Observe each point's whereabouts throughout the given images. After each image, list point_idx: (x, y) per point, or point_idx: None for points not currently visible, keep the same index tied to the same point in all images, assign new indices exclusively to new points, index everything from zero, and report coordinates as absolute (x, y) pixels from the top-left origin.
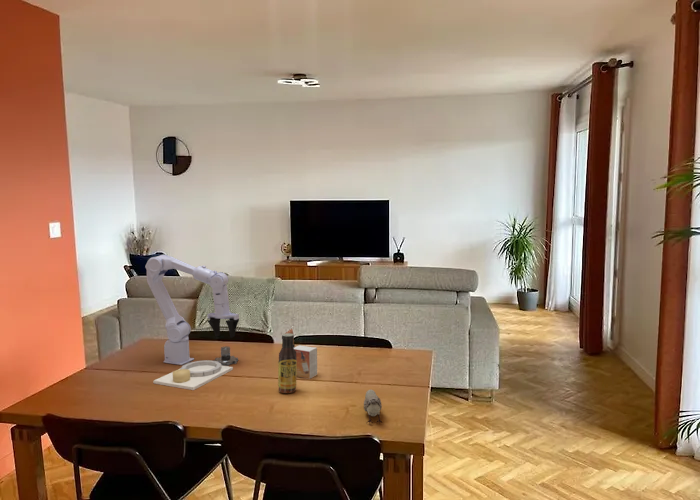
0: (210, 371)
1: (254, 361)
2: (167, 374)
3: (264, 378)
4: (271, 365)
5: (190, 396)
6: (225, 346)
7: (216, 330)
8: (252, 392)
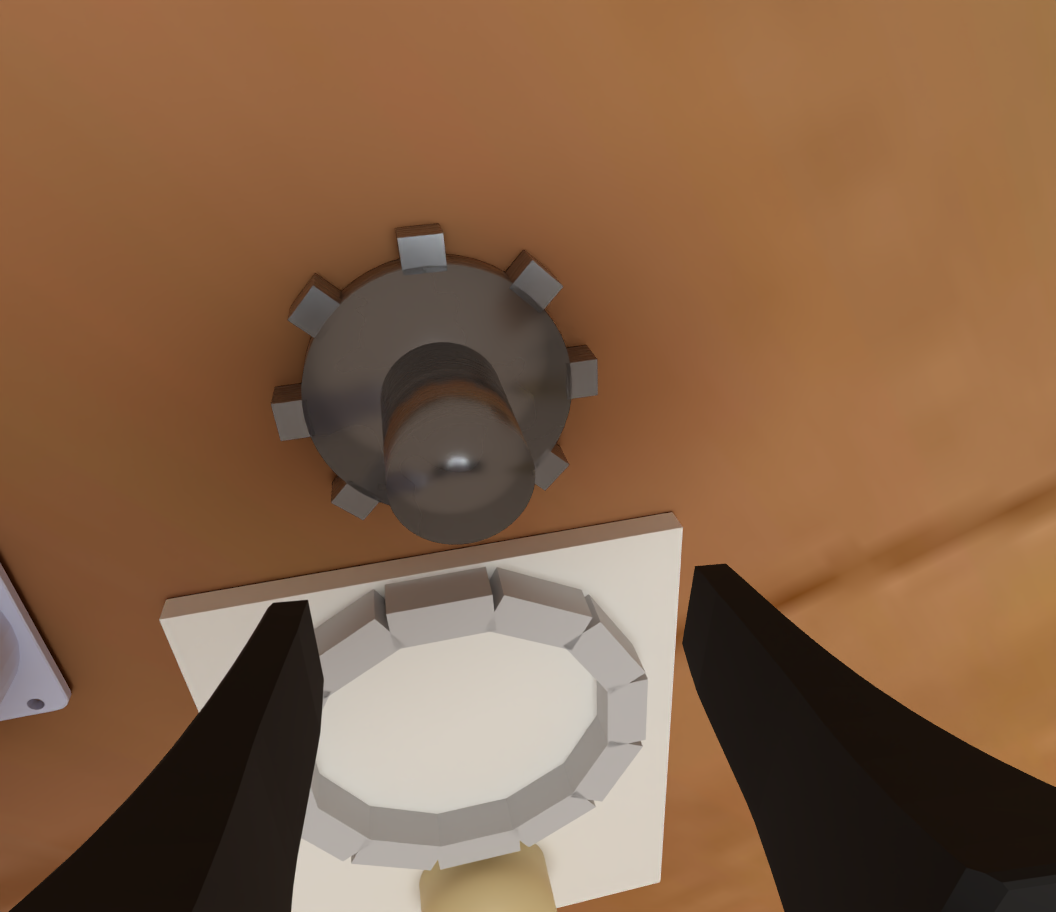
0: (629, 760)
1: (761, 181)
2: None
3: (1032, 521)
4: (1013, 212)
5: (696, 900)
6: (414, 440)
7: (297, 784)
8: (1017, 711)
